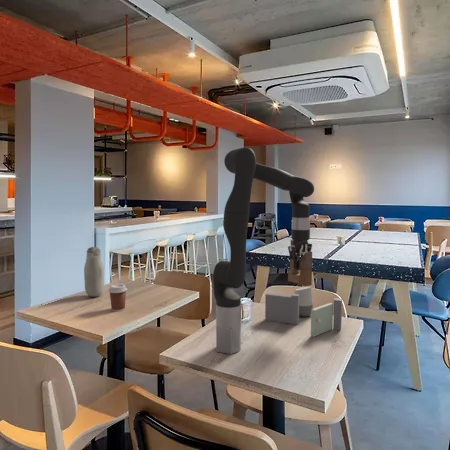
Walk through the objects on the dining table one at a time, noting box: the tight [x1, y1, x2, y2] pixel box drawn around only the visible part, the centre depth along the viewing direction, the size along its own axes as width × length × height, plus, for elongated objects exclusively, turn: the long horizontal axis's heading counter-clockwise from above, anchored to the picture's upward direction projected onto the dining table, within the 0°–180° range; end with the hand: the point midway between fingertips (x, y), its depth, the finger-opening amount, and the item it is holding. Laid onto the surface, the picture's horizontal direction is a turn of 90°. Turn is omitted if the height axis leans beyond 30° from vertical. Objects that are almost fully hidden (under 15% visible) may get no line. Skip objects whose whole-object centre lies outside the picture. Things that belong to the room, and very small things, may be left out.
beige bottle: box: [83, 246, 105, 298], centre depth 215 cm, size 10×10×28 cm
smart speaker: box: [294, 285, 314, 318], centre depth 184 cm, size 10×9×14 cm
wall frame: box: [264, 293, 343, 331], centre depth 171 cm, size 3×33×13 cm, turn 67°
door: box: [310, 302, 334, 338], centre depth 161 cm, size 3×14×11 cm, turn 132°
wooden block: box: [287, 239, 313, 287], centre depth 162 cm, size 4×11×18 cm, turn 33°
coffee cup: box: [107, 283, 128, 312], centre depth 193 cm, size 9×9×12 cm
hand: (299, 268), depth 162 cm, fingers closed on wooden block, 4 cm apart
